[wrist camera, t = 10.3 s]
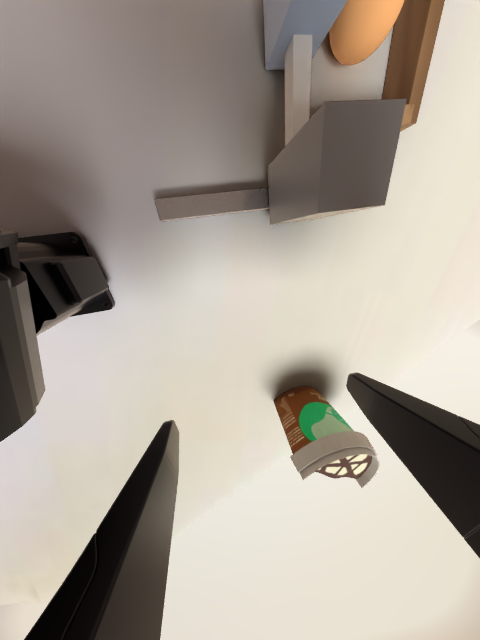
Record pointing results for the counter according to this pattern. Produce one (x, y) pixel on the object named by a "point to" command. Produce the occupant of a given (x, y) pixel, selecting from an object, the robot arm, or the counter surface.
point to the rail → (212, 204)
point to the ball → (362, 28)
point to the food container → (324, 438)
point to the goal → (412, 54)
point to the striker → (323, 125)
